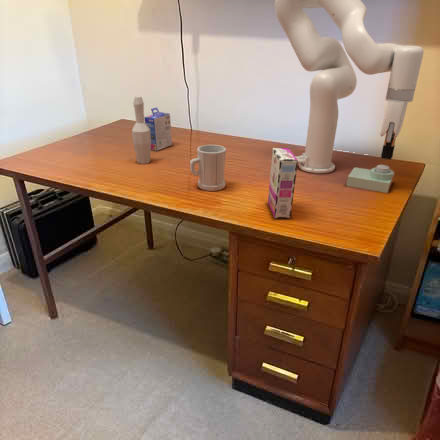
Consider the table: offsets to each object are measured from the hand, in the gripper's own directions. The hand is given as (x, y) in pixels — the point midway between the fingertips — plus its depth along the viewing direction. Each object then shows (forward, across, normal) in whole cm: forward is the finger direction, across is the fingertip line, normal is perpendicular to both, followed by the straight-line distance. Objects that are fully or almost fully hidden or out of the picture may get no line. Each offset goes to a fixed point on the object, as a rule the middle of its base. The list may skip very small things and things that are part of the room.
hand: (386, 158), depth 136 cm
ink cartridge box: (+8, -3, -86) cm, 87 cm away
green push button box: (+9, 0, -4) cm, 10 cm away
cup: (+9, +26, -49) cm, 56 cm away
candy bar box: (+9, +34, -23) cm, 41 cm away
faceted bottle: (+8, +16, -82) cm, 83 cm away
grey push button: (+5, 0, 0) cm, 5 cm away
